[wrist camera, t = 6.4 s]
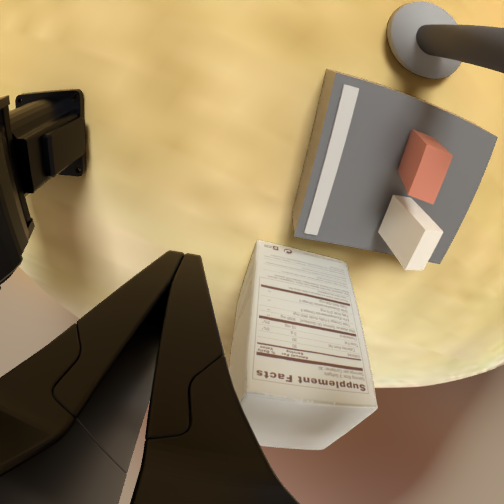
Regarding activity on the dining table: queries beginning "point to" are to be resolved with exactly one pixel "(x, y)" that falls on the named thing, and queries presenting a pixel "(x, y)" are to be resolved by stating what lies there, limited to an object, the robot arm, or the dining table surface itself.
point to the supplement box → (299, 349)
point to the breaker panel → (380, 164)
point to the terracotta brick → (424, 166)
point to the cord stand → (441, 41)
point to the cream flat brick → (409, 233)
